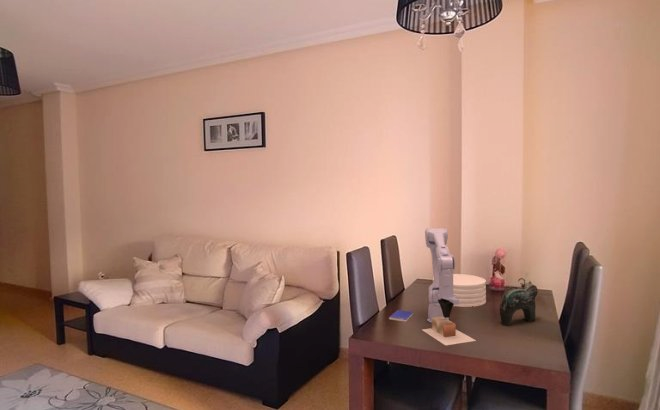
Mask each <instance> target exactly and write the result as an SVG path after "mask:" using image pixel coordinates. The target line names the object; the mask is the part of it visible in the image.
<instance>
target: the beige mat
mask: <svg viewBox="0 0 660 410" xmlns="http://www.w3.org/2000/svg"><path fill="white" fill-rule="evenodd" d="M422 332H425V334H427V335H429V336H430V337H431V338H433V339H435V340H436V341H438V342H439V343H441V344H442V345H444V346H450V345H451V346H452V345H457V344H464V343H471V342H476V341H477V340H476V339H474V338H473V337H470V336H469V335H468V334H465V333H464V332H462V331H459V330H458V329H456V336H451V337H444V336H442V335H441V334H439V333H437V332H436V331H434V330H432V327H431V328H430V327H429V328H424V329H422Z"/></svg>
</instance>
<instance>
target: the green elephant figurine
mask: <svg viewBox="0 0 660 410" xmlns="http://www.w3.org/2000/svg"><path fill="white" fill-rule="evenodd" d="M521 280H523V283H522V282H520V281H521ZM517 282H518V283H519V282H520V283H519V284H520V285H521V286H520V287H516V286H510V287H509V288H506V289H505V291H504V294H503V295H502V298H501V300H500V303H499V316H500V323H501V325H502V326H505V327H511V325H512V321H513V315H514V314H515V313H516V312H517V311H519V310H522V312H523V317H524V320H525V321H528V322H534V321H536V297H537V295H538V288H537V286H536V285H535V284H532V282H531V280H529V281H528V282H527V283H526V280H525V279H524V278H522V277H520V278H518V280H517Z"/></svg>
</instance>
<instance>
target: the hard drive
mask: <svg viewBox="0 0 660 410" xmlns="http://www.w3.org/2000/svg"><path fill="white" fill-rule="evenodd" d="M413 314H414V312H413V311H409V310H400V309H397V310H396V311H395V312H393V313H392V314H391V315H390V316H389V317H388V320H392V321H399V322H407V321H408V320H409V319H410V318H411V317H412V316H413Z"/></svg>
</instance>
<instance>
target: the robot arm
mask: <svg viewBox="0 0 660 410" xmlns="http://www.w3.org/2000/svg"><path fill="white" fill-rule="evenodd" d="M424 233H425V235H424V238H425V245H426V248H428V249H430V253H431V262H432V272H433V273H432V275H433V277H434V283H433V282H432V284H430V285H429V286H428V301H429V304H428V307H427V308H428V309H427V310H428V312H427V314H428V317H427V319H426V321H427V322H429V323H430V324H432V318H434V317H441V316H442V317H444V318H446V319H447V320H449V318H450V316H451V313H452V310H453V307H454V306H453V305H458V304H459V299H457V298H456V297H455V296H456V295H455V294H453V274H454V270H455V269H456V267H455V266H456V262H455V256H454V255H453V254H451V251H450V249H449V247H448V246H447V243H448V239H449V238H448V235H449V234H448V233H449V232H448V229H447V228H446V227H444V228H443V227H442V228H429V227H428V228H426V229H425V231H424ZM449 321H450V320H449Z"/></svg>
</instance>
